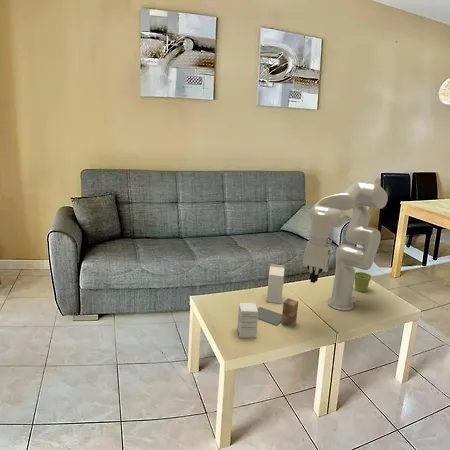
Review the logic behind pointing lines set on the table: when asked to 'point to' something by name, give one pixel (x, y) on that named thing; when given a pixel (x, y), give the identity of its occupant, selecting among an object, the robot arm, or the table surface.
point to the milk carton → (275, 283)
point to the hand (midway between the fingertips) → (313, 281)
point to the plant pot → (362, 281)
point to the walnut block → (289, 312)
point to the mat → (269, 316)
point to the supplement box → (247, 320)
